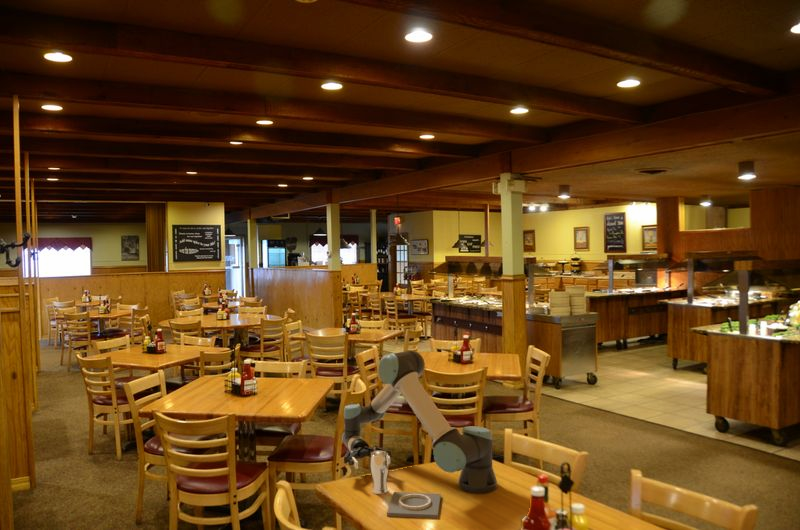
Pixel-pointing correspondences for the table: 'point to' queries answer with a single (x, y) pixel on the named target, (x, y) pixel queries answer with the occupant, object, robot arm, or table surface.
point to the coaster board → (414, 505)
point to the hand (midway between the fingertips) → (373, 463)
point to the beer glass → (379, 471)
